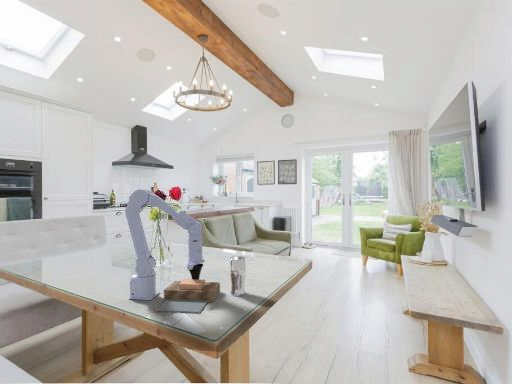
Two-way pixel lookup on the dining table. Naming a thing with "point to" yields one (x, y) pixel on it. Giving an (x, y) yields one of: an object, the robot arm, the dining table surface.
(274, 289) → the dining table surface
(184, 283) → the tile
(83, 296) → the dining table surface
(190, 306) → the mat
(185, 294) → the brown wooden block
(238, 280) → the beer glass
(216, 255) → the dining table surface
